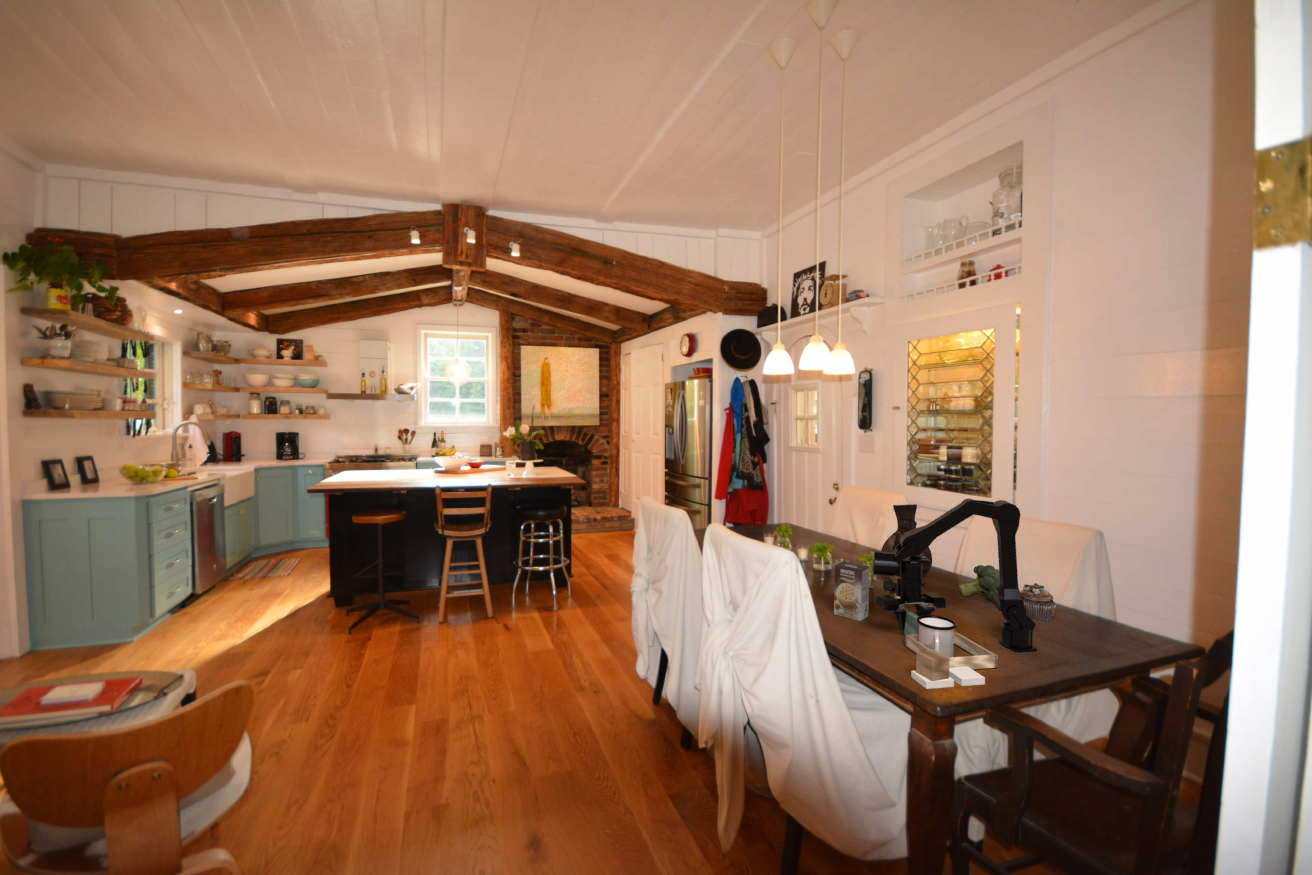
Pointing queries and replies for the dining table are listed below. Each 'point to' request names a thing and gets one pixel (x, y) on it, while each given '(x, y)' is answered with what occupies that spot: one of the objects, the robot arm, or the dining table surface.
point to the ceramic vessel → (905, 524)
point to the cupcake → (1038, 602)
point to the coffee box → (851, 590)
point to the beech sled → (981, 655)
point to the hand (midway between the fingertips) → (910, 630)
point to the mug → (937, 633)
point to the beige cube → (932, 665)
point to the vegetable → (983, 582)
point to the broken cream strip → (952, 678)
